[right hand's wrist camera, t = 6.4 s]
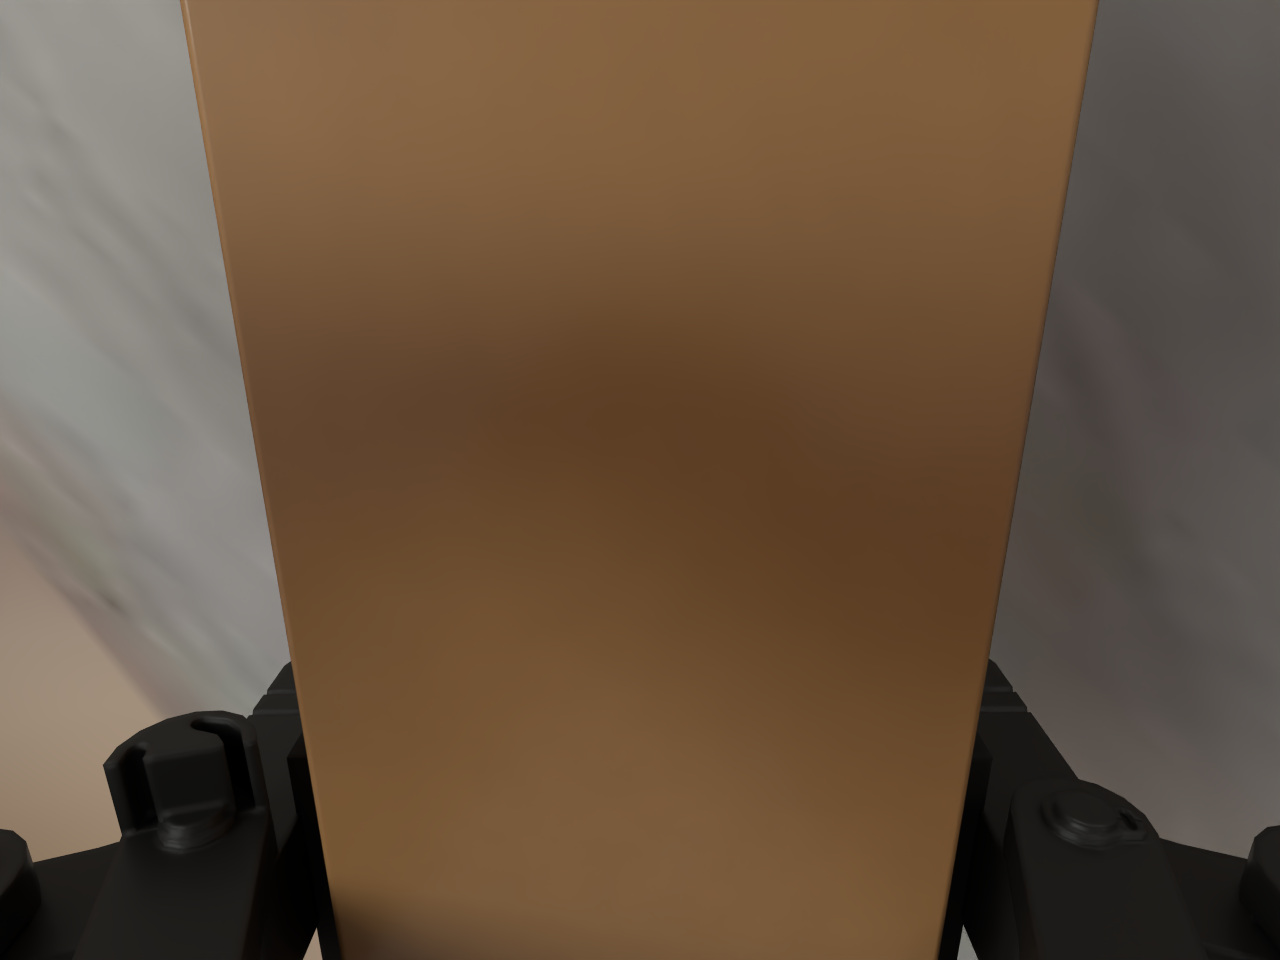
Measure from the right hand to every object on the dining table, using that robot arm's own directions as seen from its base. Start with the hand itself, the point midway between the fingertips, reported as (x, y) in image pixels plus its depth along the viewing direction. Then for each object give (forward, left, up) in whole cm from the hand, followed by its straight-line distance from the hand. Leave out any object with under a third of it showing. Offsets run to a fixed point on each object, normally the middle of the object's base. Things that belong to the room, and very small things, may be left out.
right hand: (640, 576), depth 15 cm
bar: (+7, +4, 0) cm, 8 cm away
